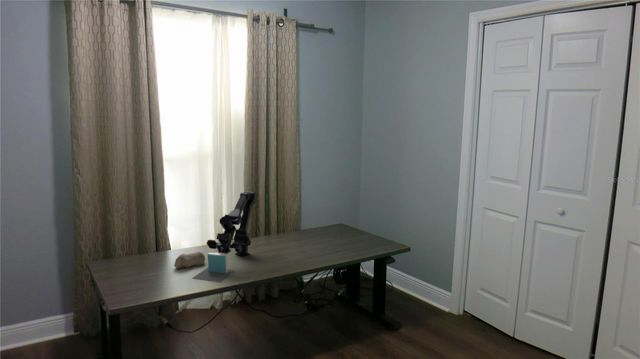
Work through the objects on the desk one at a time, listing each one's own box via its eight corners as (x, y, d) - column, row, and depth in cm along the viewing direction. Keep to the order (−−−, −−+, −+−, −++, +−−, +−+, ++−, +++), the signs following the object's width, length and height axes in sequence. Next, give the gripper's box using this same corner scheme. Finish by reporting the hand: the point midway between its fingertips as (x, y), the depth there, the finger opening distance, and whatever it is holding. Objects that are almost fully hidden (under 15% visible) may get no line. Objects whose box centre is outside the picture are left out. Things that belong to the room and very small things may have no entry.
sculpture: (169, 261, 243) (175, 251, 237) (198, 254, 254) (204, 244, 248) (175, 274, 239) (181, 265, 233) (204, 267, 251) (210, 257, 245)
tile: (211, 268, 239) (210, 251, 237) (228, 271, 237) (227, 253, 235) (208, 271, 237) (207, 253, 234) (225, 273, 234) (225, 256, 232)
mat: (208, 267, 243) (208, 266, 243) (235, 271, 240) (235, 270, 239) (191, 279, 226) (191, 278, 226) (220, 283, 222) (220, 282, 222)
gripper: (208, 225, 242) (198, 250, 233) (240, 228, 238) (231, 254, 229) (214, 235, 251) (205, 260, 242) (245, 239, 246) (237, 264, 237)
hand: (219, 259), depth 237 cm, fingers closed, pressing on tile
